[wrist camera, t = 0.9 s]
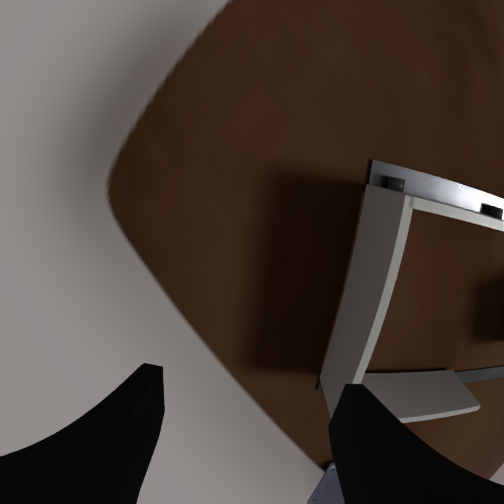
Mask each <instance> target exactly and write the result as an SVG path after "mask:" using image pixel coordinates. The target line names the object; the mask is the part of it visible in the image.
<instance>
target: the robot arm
mask: <svg viewBox="0 0 504 504" xmlns="http://www.w3.org/2000/svg"><path fill="white" fill-rule="evenodd" d="M164 412H165V406H164V386H163V367H162V366H157V365H151V364H147V363H144V364H142V365H141V366H140V367H139V368H138V369H137V370H136V371H135V372H134V373H132V375H130V376H129V377H128V378H127V379H126V380H125V381H124V382H123V383H122V384H121V385H120V386H119V387H117V388H116V389H115V390H114V391H113V392H112V393H111V394H109V395H108V396H107V397H106V398H105V399H104V400H102V401H101V402H100V403H99V404H97V405H96V406H95V407H93V408H92V409H91V410H89V411H88V412H87V413H85V414H84V415H83V416H82V417H80V418H79V419H77V420H76V421H74V422H73V423H71V424H70V425H68V426H67V427H65V428H63V429H62V430H60V431H58V432H56V433H55V434H53V435H51V436H49V437H47V438H45V439H43V440H41V441H39V442H37V443H35V444H33V445H31V446H28V447H26V448H23V449H21V450H18V451H15V452H12V453H9V454H7V455H4V456H1V457H0V504H136V503H137V499H138V495H139V492H140V488H141V486H142V483H143V480H144V477H145V475H146V472H147V469H148V466H149V463H150V461H151V458H152V455H153V452H154V449H155V447H156V444H157V441H158V438H159V435H160V430H161V426H162V421H163V417H164ZM328 426H329V436H330V444H331V451H332V455H333V459H334V462H333V463H331V464H330V465H329V467H328V468H327V470H326V472H325V474H324V475H323V477H322V479H321V480H320V482H319V484H318V486H317V487H316V489H315V490H314V492H313V494H312V495H311V497H310V499H309V500H308V504H504V485H500V484H498V483H495V482H492V481H490V480H487V479H485V478H482V477H480V476H478V475H476V474H474V473H472V472H470V471H468V470H466V469H464V468H462V467H460V466H458V465H457V464H455V463H453V462H452V461H450V460H448V459H447V458H446V457H444V456H443V455H441V454H440V453H438V452H437V451H435V450H434V449H433V448H431V447H430V446H429V445H427V444H426V443H425V442H424V441H422V440H421V439H420V438H419V437H418V436H416V435H415V434H414V433H413V432H412V431H411V430H409V429H408V428H407V427H406V426H405V425H404V424H403V423H402V422H401V421H400V420H399V419H398V418H397V417H396V416H395V415H393V414H392V413H391V412H390V411H389V410H388V409H387V408H386V407H385V406H384V405H383V404H382V403H381V402H380V401H379V400H378V398H377V397H376V396H375V395H374V394H373V393H372V392H371V391H370V390H368V389H367V388H366V387H365V386H364V385H363V384H345V386H344V389H343V391H342V394H341V396H340V399H339V401H338V404H337V406H336V409H335V411H334V413H333V416H332V418H331V420H330V423H329V425H328Z"/></svg>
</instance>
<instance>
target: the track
mask: <svg viewBox="0 0 504 504" xmlns="http://www.w3.org/2000/svg"><path fill="white" fill-rule="evenodd" d="M389 176H391V177H396V178H400V179H404V180H406V181H405V187H404V193H409V194H413V195H417V196H421V197H425V198H429V199H433V200H437V201H441V202H444V203H448V204H452V205H456V206H459V207H463V208H466V209H470V210H473V211H477V212H480V213H483V214H487V215H490V213H491V208H492V206H496V207H499V208H502V209H504V199H502V198H499V197H496V196H494V195H491V194H488V193H485V192H482V191H480V190H477V189H474V188H471V187H468V186H465V185H462V184H459V183H456V182H452V181H449V180H446V179H443V178H439V177H436V176H433V175H429V174H426V173H422V172H419V171H415V170H411V169H408V168H404V167H400V166H396V165H392V164H388V163H384V162H380V161H376V160H372V162H371V169H370V175H369V181H368V185H373V186H378V187H382V188H388V182H389ZM502 219H503V220H504V211H503V216H502ZM454 372H455V373H456V374H457V376H458V377H459V378H460V379H461V381H462V382H463V383H472V382H478V381H485V380H491V379H497V378H502V377H504V365H503V366H496V367H489V368H481V369H472V370H463V371H454ZM317 391H323V388H322V385H321V381H320V382H319V385H318V388H317Z"/></svg>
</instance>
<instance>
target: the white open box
mask: <svg viewBox="0 0 504 504" xmlns="http://www.w3.org/2000/svg"><path fill="white" fill-rule="evenodd" d="M405 181H406V180H404V179H400V178H396V177H391V176H389V182H388V188H387V189H386V188H382V187H377V186H373V185H368V184H366V190H365V196H364V202H363V207H362V212H361V218H360V223H359V228H358V233H357V238H356V242H355V247H354V252H353V256H352V261H351V265H350V269H349V274H348V278H347V282H346V286H345V290H344V294H343V298H342V302H341V306H340V310H339V313H338V317H337V321H336V324H335V328H334V331H333V335H332V338H331V342H330V345H329V349H328V352H327V355H326V359H325V362H324V365H323V368H322V372H321V375H320V381H321V385H322V388H323V392H324V395H325V399H326V403H327V406H328V410H329V413H330V417H331V418H332V416H333V413H334V411H335V409H336V406H337V404H338V401H339V399H340V396H341V394H342V391H343V389H344V386H345V384H363V385H364V386H365V387H366V388H367V389H368V390H370V391H371V392H372V393H373V394H374V395H375V396H376V397H377V398H378V400H379V401H380V402H381V403H382V404H383V405H384V406H385V407H386V408H387V409H388V410H389V411H390V412H391V413H392V414H393V415H395V416H396V417H397V418H398V419H399V420H400V421H401V422H402V423H407V422H415V421H422V420H429V419H436V418H442V417H447V416H453V415H458V414H463V413H468V412H472V411H477V410H478V409H479V407H480V406H481V405H480V404H479V403H478V401H477V400H476V399H475V397H474V396H473V395H472V394H471V392H470V391H469V390H468V388H467V387H466V386H465V385H464V383H463V382H462V381H461V379H460V378H459V377H458V376H457V374H456V373H455V372H454V371H453V370H444V371H429V372H409V373H365V371H366V368H367V366H368V363H369V360H370V358H371V355H372V352H373V350H374V347H375V344H376V341H377V338H378V336H379V333H380V330H381V327H382V324H383V321H384V318H385V315H386V311H387V308H388V305H389V302H390V298H391V295H392V292H393V288H394V285H395V281H396V278H397V274H398V270H399V266H400V263H401V259H402V255H403V251H404V247H405V242H406V238H407V234H408V229H409V224H410V220H411V215H412V210H413V208H414V209H418V210H422V211H427V212H431V213H435V214H440V215H444V216H448V217H452V218H456V219H460V220H464V221H468V222H472V223H475V224H479V225H483V226H486V227H490V228H494V229H497V230H501V231H504V220H502V216H503V211H504V209H502V208H499V207H496V206H492V208H491V213H490V215H486V214H483V213H480V212H476V211H473V210H469V209H466V208H462V207H459V206H455V205H452V204H448V203H444V202H440V201H437V200H433V199H429V198H425V197H421V196H417V195H413V194H408V193H404V187H405Z"/></svg>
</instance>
